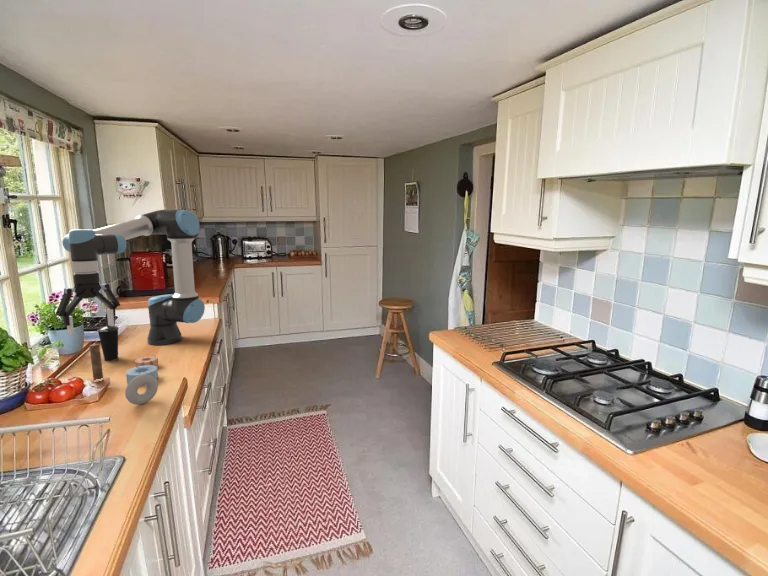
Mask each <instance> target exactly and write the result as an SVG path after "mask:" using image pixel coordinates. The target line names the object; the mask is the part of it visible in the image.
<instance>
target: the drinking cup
mask: <svg viewBox="0 0 768 576" xmlns="http://www.w3.org/2000/svg"><path fill="white" fill-rule="evenodd" d="M105 321H106V325H105V326H102V327H100V328H97V330H96V331H97V334H98V338H99V341H100V345H101V350H102V351H101V352H102V354H103V359H104V361H106V362H110V361H115V360H118V359H119V328H120V327H119V326H116V325H114V326H109V325H108V318H107V313H106V314H105Z"/></svg>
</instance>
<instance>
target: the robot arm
mask: <svg viewBox="0 0 768 576" xmlns="http://www.w3.org/2000/svg"><path fill="white" fill-rule="evenodd" d="M199 231H200V221H199V218H198V217H197V215H196V214H195V213H194V212H193V211H191V210H186V209H159V210H158V209H157V210H154V211H151V212H148V213H143V214H140V215H137V216H136V217H135V219H133V218H132V219H130V220H127V221H122V222H119V223H115V224H111V225H107V226H103V227H100V228H96V229H70V230H69V231H68V234H65V236H64V237H63V238H62V241H61V243H62V246H63V248H64V249H65V251H67V252H69V253H70V258H71V268H72V272H73V274H72V277H73V284H74V286H73V287H72V288H71V287H70V288H69V287H64V288H63V295H62V298H61V300H60V302H59V304H58V307H57V309H56V311H55V315H56V316H58V317H62V321H63V326H64V327H65V326H66V331H67V332H66V333H67V334H68V335H71V336H72V335H75V328H74V319H73V316H71V314H72V313H73V312H74V311H75V309H76V308H77V307H78V305H79V304H80V302H81V301H83V299H84V300H85V299H90V298H91V299H92V298H93V299H95V298H97V300H99V301H100V302H101V303H103V304H104V305H105V306H106V307H108V308H106V314H107V318H108V325H109V326H115V318H114V317H116V309H118V307H120V306H121V303H120V302H119V300H118V299H117V297H116V296H115V294H114V293H113V291H112V290H111V287H110V283H104V282H103V283H102V284H100V282H101V279H100V273H99V272H98V271H99V263H98V256H102V255H118V254H122V253H124V252H125V251H126V249H127V240H131V239H134V238H137V237H140V236H145V237H148V236H153V235H166V239H167V241H169V242H170V243H171V257H172V271H173V282H174V283H173V284H174V285H173V286H174V293H170V294H162V295H156V296H151V297H150V298H148V300H147V304H148V305H147V307H148V317H149V325H150V326H149V327H150V328H149V331H148V335H147V344H149V345H153V346H162V345H163V346H165V345H171V344H175V343H178V342H180V341H182V339H183V336H182V333H181V330H180V329H179V326H178V323H185V324H190V323H191V324H194V323H197V322H199V321H200V320H201V319H202V317H203V315H204V314H205V311H206V310H205V309H206V308H205V307H206V305H205V303H204V301H203V300H202V299H200V296H199V293H197V292H196V289H195V278H194V277H195V273H194V260H193V258H194V257H193V244H192V242H193V241H194V240H195V239H196V238H195V236H196V235H197V234H198V233H199ZM101 290H103V292H104V294H105V295H106V297H105V296H104V294H102V292H100V291H101ZM74 293H75V295H74V296H73V299H72V300H71V298H72V295H73V294H74ZM107 298H108V299H107ZM70 300H71V302H70ZM69 302H70V303H69Z"/></svg>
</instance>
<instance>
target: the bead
mask: <svg viewBox="0 0 768 576" xmlns="http://www.w3.org/2000/svg"><path fill="white" fill-rule="evenodd" d="M134 364H135V367H138V366H144V365H153V366H156V367H157V368H158V367H159V358H158V356H155V355H149V356H146V355H145V356H142V357H139V358H137V359H135V360H134Z"/></svg>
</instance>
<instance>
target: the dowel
mask: <svg viewBox="0 0 768 576" xmlns="http://www.w3.org/2000/svg"><path fill="white" fill-rule="evenodd" d="M100 345H101V344H100V343H93V344H90V345H89V353H90V363H91V369H92V377H93V381H94V380H96V379H101V378H103V379H104V374H103V364H102V357H101V356H102V355H101V348H100Z"/></svg>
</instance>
